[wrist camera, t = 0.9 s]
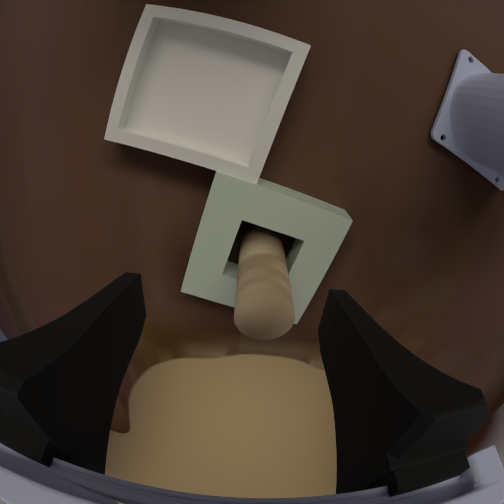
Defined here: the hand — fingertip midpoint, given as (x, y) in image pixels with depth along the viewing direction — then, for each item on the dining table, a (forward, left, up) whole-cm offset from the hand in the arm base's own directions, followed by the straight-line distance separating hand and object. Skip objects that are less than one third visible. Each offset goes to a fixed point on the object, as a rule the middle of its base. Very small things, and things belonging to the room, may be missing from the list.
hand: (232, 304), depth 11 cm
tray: (+5, -7, -10) cm, 13 cm away
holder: (-2, +2, -10) cm, 11 cm away
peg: (-2, +2, -10) cm, 11 cm away
